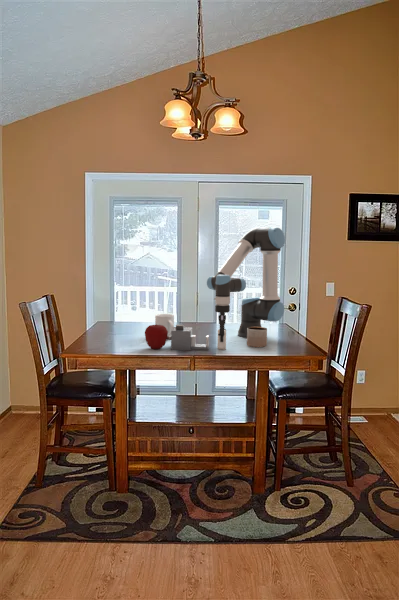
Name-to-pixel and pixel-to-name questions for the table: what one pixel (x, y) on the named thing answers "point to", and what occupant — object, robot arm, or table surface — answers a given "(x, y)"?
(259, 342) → the planter
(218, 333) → the white bottle
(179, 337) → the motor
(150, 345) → the apple
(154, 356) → the table surface
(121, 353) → the table surface
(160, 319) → the mug
